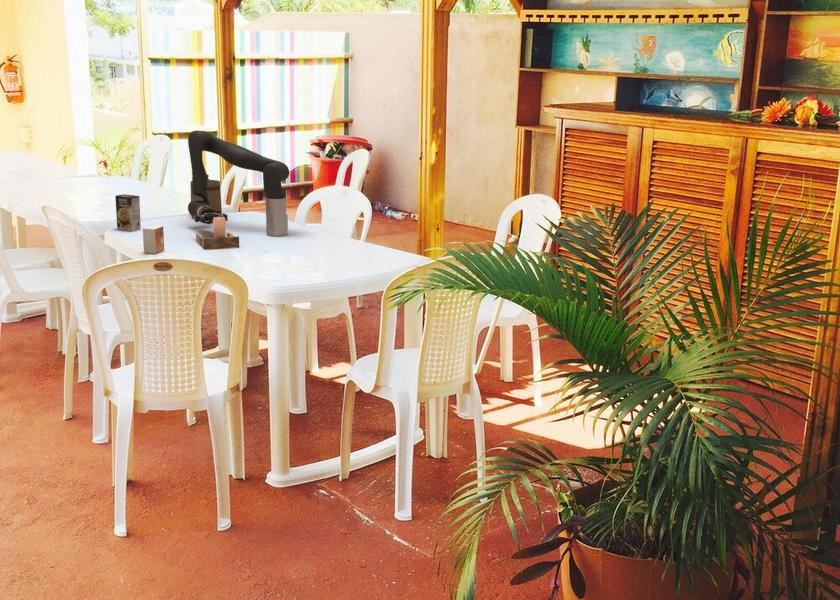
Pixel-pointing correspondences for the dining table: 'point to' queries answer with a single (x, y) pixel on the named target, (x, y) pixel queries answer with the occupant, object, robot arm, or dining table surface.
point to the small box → (153, 239)
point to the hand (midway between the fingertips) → (214, 220)
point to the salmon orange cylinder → (219, 227)
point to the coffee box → (128, 212)
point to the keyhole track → (218, 242)
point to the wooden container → (211, 195)
